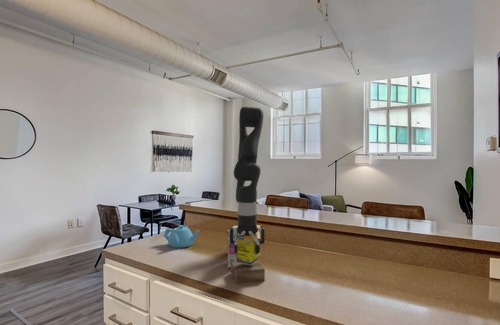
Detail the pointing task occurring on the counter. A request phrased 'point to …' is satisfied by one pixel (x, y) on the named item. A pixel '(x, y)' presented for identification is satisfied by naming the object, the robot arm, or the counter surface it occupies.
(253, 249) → the supplement box
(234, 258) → the candy bar box
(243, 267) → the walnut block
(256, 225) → the robot arm
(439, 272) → the counter surface
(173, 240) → the teapot
